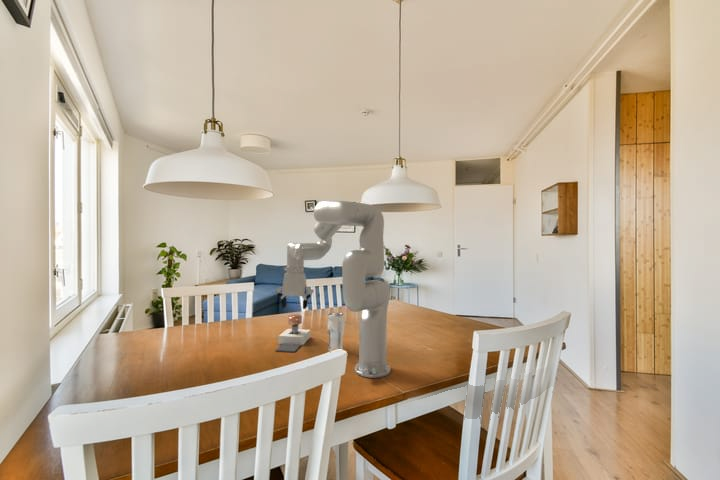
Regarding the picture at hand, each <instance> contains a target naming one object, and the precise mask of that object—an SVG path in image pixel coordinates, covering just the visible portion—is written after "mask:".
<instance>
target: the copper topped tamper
mask: <svg viewBox="0 0 720 480" xmlns="http://www.w3.org/2000/svg"><path fill="white" fill-rule="evenodd" d="M287 320H288V322H287V324H288V325H291V329H292V334H296V335H298V329H299V325H301V324H302V323H303V316H302V315H301V314H291V315H288V316H287Z"/></svg>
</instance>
